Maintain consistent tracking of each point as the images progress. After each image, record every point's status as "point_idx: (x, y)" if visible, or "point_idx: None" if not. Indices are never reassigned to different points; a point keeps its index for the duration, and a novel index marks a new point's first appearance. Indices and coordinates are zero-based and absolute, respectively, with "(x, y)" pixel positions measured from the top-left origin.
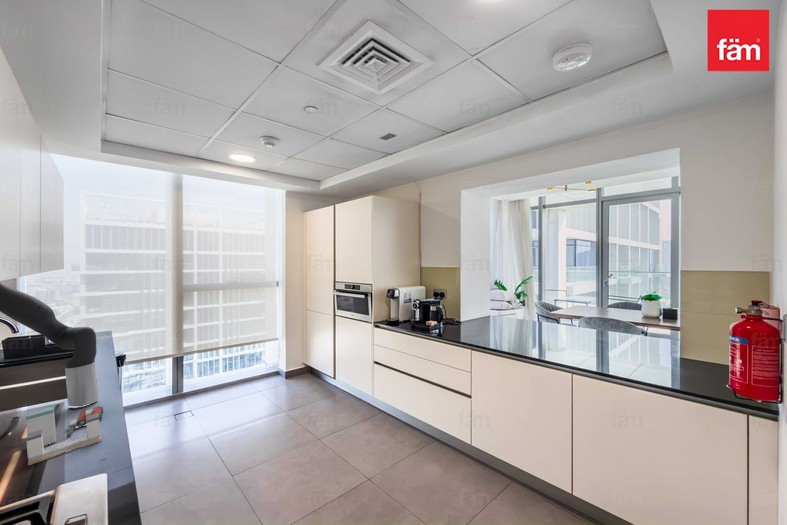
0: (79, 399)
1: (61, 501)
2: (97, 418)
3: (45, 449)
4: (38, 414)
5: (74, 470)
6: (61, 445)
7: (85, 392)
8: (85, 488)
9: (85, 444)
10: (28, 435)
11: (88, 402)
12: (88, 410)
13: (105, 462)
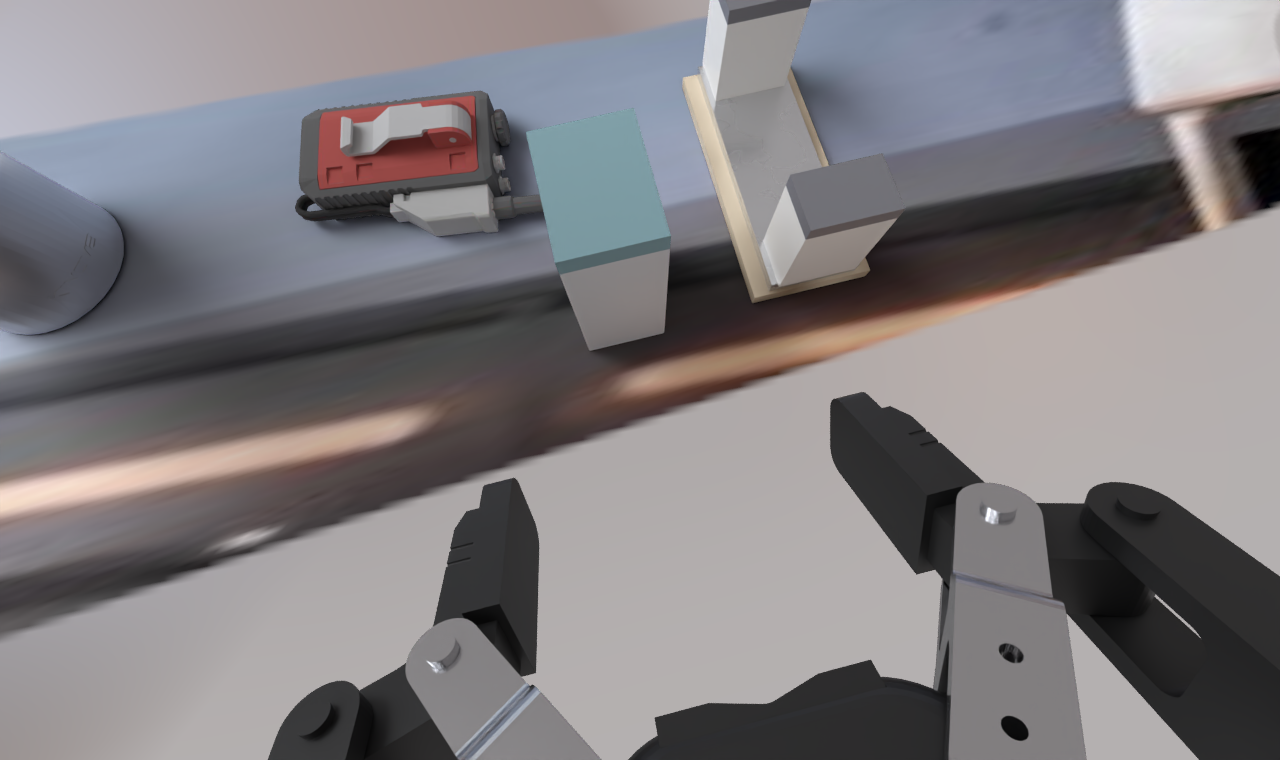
0: (56, 234)
1: (1272, 73)
2: None
3: None
4: (652, 180)
5: (1038, 93)
6: (783, 174)
7: (9, 178)
8: (1215, 28)
9: (801, 104)
10: (852, 214)
11: (97, 217)
12: (400, 125)
13: (1031, 11)
